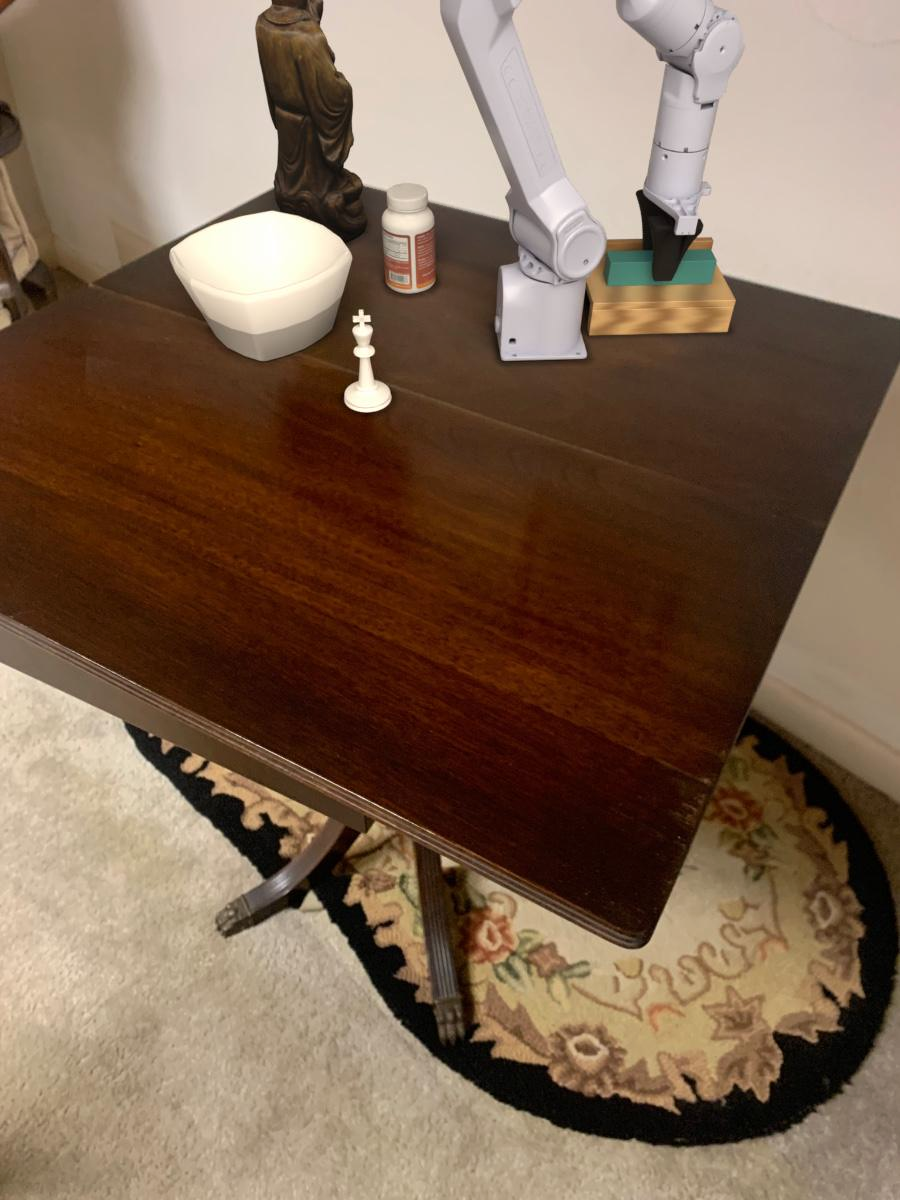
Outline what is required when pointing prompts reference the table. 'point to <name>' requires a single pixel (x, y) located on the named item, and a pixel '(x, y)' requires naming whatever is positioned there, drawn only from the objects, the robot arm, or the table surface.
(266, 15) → the sculpture
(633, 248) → the wooden stepped tray
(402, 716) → the table surface
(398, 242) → the pill bottle
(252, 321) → the bowl
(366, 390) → the chess piece
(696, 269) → the stick
